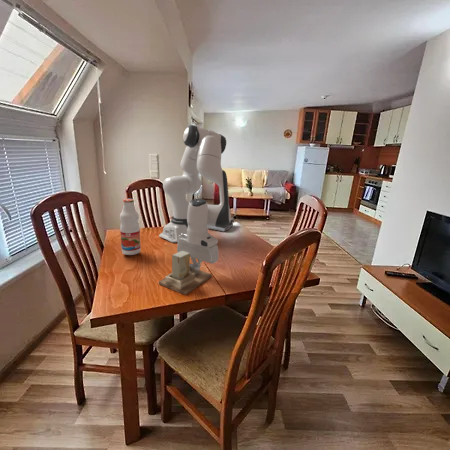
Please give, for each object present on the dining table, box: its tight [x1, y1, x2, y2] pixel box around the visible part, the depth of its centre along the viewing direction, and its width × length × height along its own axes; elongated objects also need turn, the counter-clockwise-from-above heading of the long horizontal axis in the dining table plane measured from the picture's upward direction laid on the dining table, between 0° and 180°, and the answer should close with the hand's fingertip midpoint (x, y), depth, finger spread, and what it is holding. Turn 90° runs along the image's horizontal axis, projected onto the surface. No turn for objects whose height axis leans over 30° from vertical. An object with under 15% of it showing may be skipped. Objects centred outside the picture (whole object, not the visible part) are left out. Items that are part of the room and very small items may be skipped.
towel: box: [207, 217, 235, 232], centre depth 180 cm, size 15×18×8 cm
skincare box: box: [171, 251, 191, 281], centre depth 101 cm, size 6×4×12 cm
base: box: [158, 269, 213, 296], centre depth 105 cm, size 14×18×4 cm
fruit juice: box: [119, 198, 142, 256], centre depth 127 cm, size 9×9×28 cm
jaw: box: [189, 263, 201, 276], centre depth 108 cm, size 5×3×4 cm, turn 59°
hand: (196, 266), depth 110 cm, fingers closed, pressing on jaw
